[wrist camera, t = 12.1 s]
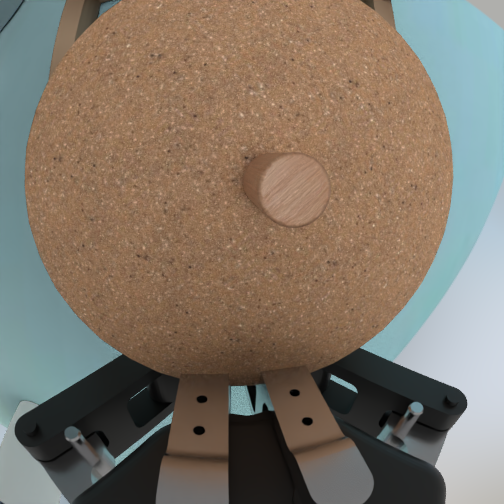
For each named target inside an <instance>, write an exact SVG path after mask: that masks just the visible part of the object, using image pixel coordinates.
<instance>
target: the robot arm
mask: <svg viewBox="0 0 504 504" xmlns="http://www.w3.org/2000/svg"><path fill="white" fill-rule="evenodd" d="M22 1H23V0H0V31H1V29H2V28H3V27H4V26H5V24H6V23H7V22H8V21H9V19H10V18H11V17H12V15H13V14H14V12H15V11H16V10H17V8H18V7H19V5H20V4H21V2H22ZM331 374H332V375H334V376H336V377H338V378H340V379H342V380H344V381H346V382H348V383H350V384H352V385H353V386H355V387H356V389H357V391H358V393H356V392H354V391H352V390H350V389H348V388H346V387H344V386H342V385H340V384H338V383H336V382H334V381H332V380H330V378H331ZM146 386H147V387H146ZM145 387H146V388H145ZM244 387H245V390H246V394H247V398H248V402H249V405H250V409H251V413H252V415H250V416H245V415H237V414H231V386H229V373H228V374H181V375H180V378H176V377H173V376H169V375H166V374H163V373H160V372H157V371H155V370H153V369H151V368H148V367H146V366H144V365H142V364H140V363H138V362H136V361H134V360H132V359H130V358H129V357H127V356H125V355H124V354H122V355H121V356H119V357H118V358H116V359H114V360H113V361H111V362H109V363H108V364H106V365H105V366H103V367H101V368H100V369H98V370H97V371H95V372H93V373H92V374H90V375H88V376H87V377H85V378H84V379H82V380H80V381H79V382H77V383H75V384H74V385H72V386H70V387H69V388H67V389H65V390H64V391H62V392H61V393H59V394H57V395H56V396H54V397H52V398H51V399H49V400H47V401H46V402H44V403H42V404H40V405H39V406H37V407H35V408H34V409H32V410H30V411H29V412H27V413H25V414H24V415H22V416H21V417H20V418H19V419H18V420H17V422H16V424H15V436H16V438H17V440H18V441H19V442H20V443H21V444H22V446H23V447H24V448H25V449H26V450H27V451H28V452H29V453H30V454H31V456H32V457H33V458H34V459H35V460H36V461H37V462H38V463H39V464H40V465H41V466H43V468H44V469H45V471H46V472H47V474H48V475H49V476H50V478H51V479H52V481H53V482H54V483H55V485H56V486H57V488H58V489H59V490H60V492H61V493H62V494H63V495H64V497H65V498H66V499H67V500H68V502H69V503H70V504H445V499H446V486H445V482H444V479H443V477H442V475H441V473H440V472H439V471H438V470H437V469H436V468H435V464H436V462H437V459H438V457H439V454H440V452H441V449H442V446H443V444H444V441H445V438H446V435H447V432H448V431H449V430H450V429H451V427H452V426H453V425H454V424H455V422H456V421H457V420H458V419H459V418H460V416H461V415H462V414H463V412H464V411H465V410H466V408H467V399H466V397H465V395H464V394H463V393H462V392H461V391H460V390H459V389H457V388H454V387H452V386H449V385H446V384H444V383H441V382H439V381H437V380H434V379H432V378H429V377H427V376H424V375H422V374H419V373H417V372H415V371H412V370H410V369H407V368H405V367H403V366H400V365H398V364H395V363H393V362H391V361H389V360H386V359H384V358H382V357H379V356H377V355H375V354H373V353H370V352H368V351H366V350H364V349H361V348H358V349H357V350H355V351H353V352H352V353H350V354H348V355H347V356H345V357H344V358H342V359H340V360H339V361H337V362H335V363H333V364H330V365H328V366H326V367H323V368H321V369H319V370H316V371H314V372H311V373H310V372H309V370H308V368H307V366H306V365H302V366H296V367H290V368H283V369H276V370H267V371H261V373H260V381H259V385H251V386H244ZM144 388H145V389H144ZM142 389H144V390H142ZM141 390H142V391H141ZM140 391H141V392H140ZM138 392H140V393H138ZM137 393H138V394H137ZM136 394H137V395H136ZM134 395H136V396H134ZM133 396H134V397H133ZM132 397H133V398H132ZM131 398H132V399H131ZM173 411H174V412H173ZM172 412H173V417H172V423H171V424H169V425H166V426H165V427H163V428H161V429H159V430H158V431H156V432H155V433H154V434H153V435H152V436H150V437H149V438H148V439H147V440H146V441H145V442H144V443H143V444H141V445H140V446H139V447H138V448H137V449H136V450H135V451H133V452H132V453H131V454H130V455H129V456H127V457H126V458H125V459H124V460H123V461H122V462H120V463H119V464H118V465H117V466H116V467H115V458H116V457H118V456H119V455H120V454H122V453H123V452H124V451H125V450H127V449H128V448H129V447H131V446H132V445H133V444H134V443H136V442H137V441H138V440H139V439H141V438H142V437H143V436H144V435H145V434H147V433H148V432H149V431H150V430H152V429H153V428H154V427H155V426H156V425H158V424H159V423H160V422H161V421H162V420H164V419H165V418H166V417H167V416H168V415H169V414H171V413H172Z"/></svg>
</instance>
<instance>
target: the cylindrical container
mask: <svg viewBox="0 0 504 504" xmlns="http://www.w3.org/2000/svg"><path fill="white" fill-rule="evenodd" d="M37 406H39V405H38V404H35V403H33V402H29V401H21V402H20V403H19V405H18V407H17V409H16V411H15V413H14V415H13V418H12V420H11V422H10V424H9V426H8V429H7V431H6V434H5V436H4V438H3V441H2V443H1V446H0V504H59V502H60V497H61V492H60V490H59V489H58V488H57V486H56V485H55V483H54V482H53V481H52V479H51V478H50V476H49V475H48V474H47V472H46V471H45V469H44V468H43V466H41V465H40V464H39V463H38V462H37V461H36V460H35V459H34V458H33V457H32V456H31V454H30V453H29V452H28V451H27V450H26V449H25V448H24V447H23V446H22V444H21V443H20V442H19V441H18V440H17V438H16V436H15V424H16V422H17V420H18V419H19V418H20V417H21V416H22V415H24V414H25V413H27V412H29V411H30V410H32V409H34V408H35V407H37Z"/></svg>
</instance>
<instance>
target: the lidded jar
mask: <svg viewBox="0 0 504 504" xmlns="http://www.w3.org/2000/svg"><path fill="white" fill-rule="evenodd" d="M452 184H453V163H452V149H451V142H450V136H449V131H448V126H447V121H446V117H445V114H444V111H443V108H442V105H441V103H440V100H439V97H438V95H437V92H436V90H435V87H434V85H433V83H432V81H431V79H430V78H429V76H428V74H427V72H426V70H425V68H424V66H423V65H422V63H421V61H420V60H419V58H418V57H417V56H416V54H415V53H414V52H413V50H412V49H411V48H410V46H409V45H408V44H407V43H406V41H405V40H404V39H403V38H402V36H401V35H400V34H399V33H398V32H397V31H396V30H395V29H394V28H393V27H392V26H391V25H390V24H389V23H388V22H387V21H386V20H385V19H384V18H383V17H382V16H380V15H379V14H378V13H377V12H376V11H375V10H373V9H372V8H370V7H369V6H368V5H366V4H365V3H363V2H362V1H360V0H122V1H120V2H119V3H117V4H116V5H114V6H113V7H112V8H110V9H109V10H107V11H106V12H105V13H103V14H102V15H101V16H100V17H99V18H98V19H97V20H95V21H94V22H93V23H92V24H91V25H90V26H89V27H88V28H87V29H86V30H85V31H84V33H83V34H82V35H81V36H80V37H79V38H78V39H77V40H76V41H75V42H74V43H73V45H72V46H71V47H70V49H69V50H68V51H67V53H66V54H65V56H64V57H63V58H62V60H61V61H60V63H59V64H58V66H57V67H56V69H55V70H54V72H53V73H52V75H51V77H50V79H49V81H48V83H47V85H46V87H45V90H44V92H43V94H42V97H41V99H40V101H39V104H38V106H37V109H36V112H35V115H34V119H33V123H32V126H31V130H30V134H29V139H28V143H27V148H26V162H25V193H26V203H27V211H28V218H29V224H30V227H31V231H32V234H33V237H34V240H35V243H36V246H37V249H38V252H39V255H40V257H41V259H42V262H43V264H44V266H45V268H46V270H47V272H48V274H49V276H50V278H51V280H52V282H53V283H54V285H55V287H56V289H57V290H58V292H59V293H60V294H61V296H62V297H63V298H64V300H65V301H66V302H67V304H68V305H69V306H70V307H71V309H72V310H73V311H74V312H75V314H76V315H77V316H78V317H79V318H80V319H81V320H82V321H83V322H84V323H85V324H86V325H87V326H88V327H89V328H90V329H91V330H92V331H93V332H94V333H95V334H96V335H97V336H98V337H100V338H101V339H102V340H103V341H104V342H106V343H107V344H109V345H110V346H112V347H113V348H115V349H116V350H118V351H119V352H121V353H122V354H124V355H125V356H127V357H129V358H130V359H132V360H134V361H136V362H138V363H140V364H142V365H144V366H146V367H148V368H151V369H153V370H155V371H157V372H160V373H163V374H166V375H169V376H173V377H176V378H180V375H181V374H228V373H229V386H251V385H259V381H260V373H261V371H267V370H276V369H283V368H290V367H296V366H302V365H306V366H307V368H308V370H309V372H310V373H311V372H314V371H316V370H319V369H321V368H323V367H326V366H328V365H330V364H333V363H335V362H337V361H339V360H340V359H342V358H344V357H345V356H347V355H348V354H350V353H352V352H353V351H355V350H357V349H358V348H360V347H361V346H362V345H364V344H365V343H366V342H368V341H369V340H370V339H372V338H373V337H374V336H375V335H377V334H378V333H379V332H380V331H382V330H383V329H384V328H385V327H386V326H387V325H388V324H389V323H390V322H391V321H392V320H393V319H394V317H395V316H396V315H397V314H398V313H399V312H400V311H401V310H402V309H403V308H404V306H405V305H406V304H407V302H408V301H409V300H410V298H411V297H412V296H413V294H414V293H415V292H416V290H417V289H418V288H419V286H420V285H421V283H422V281H423V279H424V277H425V276H426V274H427V272H428V270H429V268H430V266H431V264H432V262H433V260H434V258H435V255H436V253H437V250H438V248H439V245H440V243H441V240H442V238H443V235H444V231H445V227H446V223H447V219H448V214H449V209H450V203H451V195H452Z"/></svg>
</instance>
